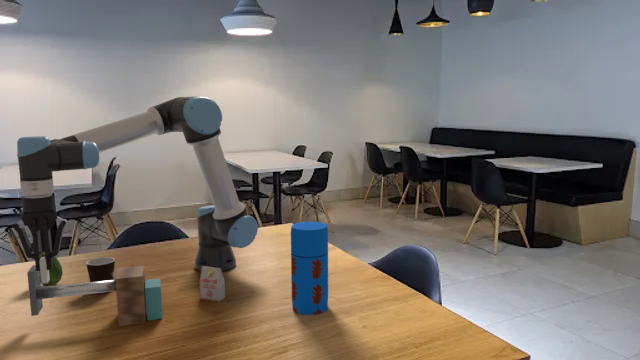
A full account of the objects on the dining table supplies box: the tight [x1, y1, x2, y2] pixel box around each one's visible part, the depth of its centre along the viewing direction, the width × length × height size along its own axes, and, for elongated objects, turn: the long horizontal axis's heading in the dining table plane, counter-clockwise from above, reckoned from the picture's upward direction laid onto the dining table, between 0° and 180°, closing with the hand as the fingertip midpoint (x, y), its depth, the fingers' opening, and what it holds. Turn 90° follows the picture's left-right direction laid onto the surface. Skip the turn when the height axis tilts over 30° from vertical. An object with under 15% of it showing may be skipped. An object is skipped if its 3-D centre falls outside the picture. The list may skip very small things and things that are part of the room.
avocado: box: [40, 251, 63, 287], centre depth 170 cm, size 8×8×12 cm
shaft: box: [26, 264, 116, 317], centre depth 140 cm, size 26×6×12 cm, turn 107°
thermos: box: [290, 221, 329, 316], centre depth 149 cm, size 11×11×25 cm
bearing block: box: [115, 265, 147, 327], centre depth 144 cm, size 7×10×14 cm
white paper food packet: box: [198, 266, 226, 302], centre depth 159 cm, size 4×7×10 cm, turn 70°
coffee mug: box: [85, 256, 116, 295], centre depth 167 cm, size 12×9×10 cm
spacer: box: [145, 278, 163, 322], centre depth 146 cm, size 4×7×10 cm, turn 17°
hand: (45, 281), depth 137 cm, fingers closed
